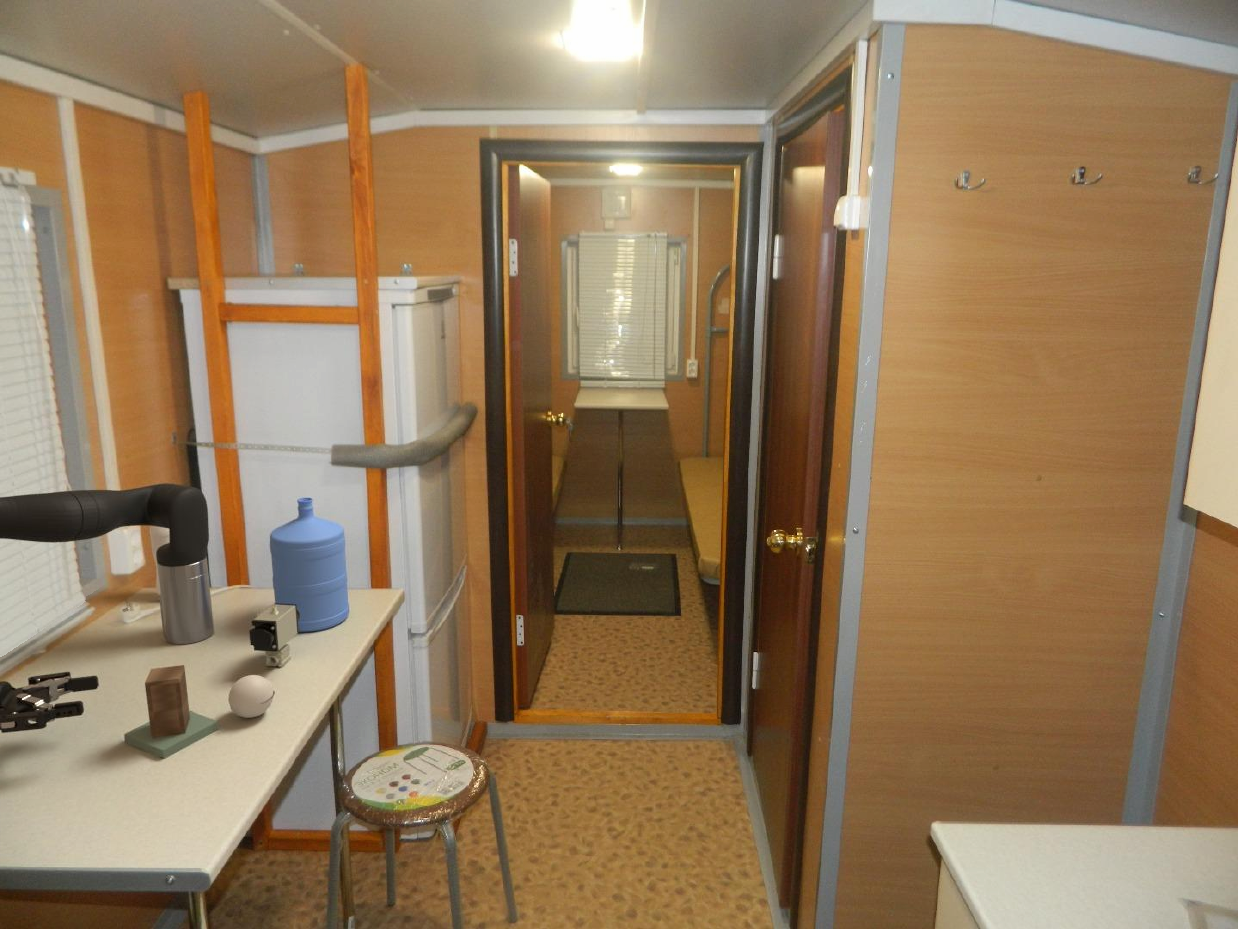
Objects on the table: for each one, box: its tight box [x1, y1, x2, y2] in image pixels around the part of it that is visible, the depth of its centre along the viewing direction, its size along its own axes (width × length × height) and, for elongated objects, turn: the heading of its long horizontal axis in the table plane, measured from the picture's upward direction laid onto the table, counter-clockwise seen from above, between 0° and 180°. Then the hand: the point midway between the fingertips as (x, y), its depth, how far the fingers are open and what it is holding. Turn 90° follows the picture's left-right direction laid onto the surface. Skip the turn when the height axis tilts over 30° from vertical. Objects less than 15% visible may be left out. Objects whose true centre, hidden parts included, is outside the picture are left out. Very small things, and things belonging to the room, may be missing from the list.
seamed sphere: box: [227, 674, 275, 719], centre depth 147 cm, size 10×7×7 cm
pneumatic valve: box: [249, 602, 300, 668], centre depth 164 cm, size 6×12×12 cm, turn 174°
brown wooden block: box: [144, 664, 190, 738], centre depth 138 cm, size 5×5×10 cm
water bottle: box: [149, 526, 170, 596], centre depth 194 cm, size 7×7×25 cm
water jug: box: [269, 497, 350, 633], centre depth 183 cm, size 16×16×28 cm
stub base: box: [123, 710, 219, 759], centre depth 139 cm, size 10×10×8 cm
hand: (90, 694), depth 134 cm, fingers open, 8 cm apart
